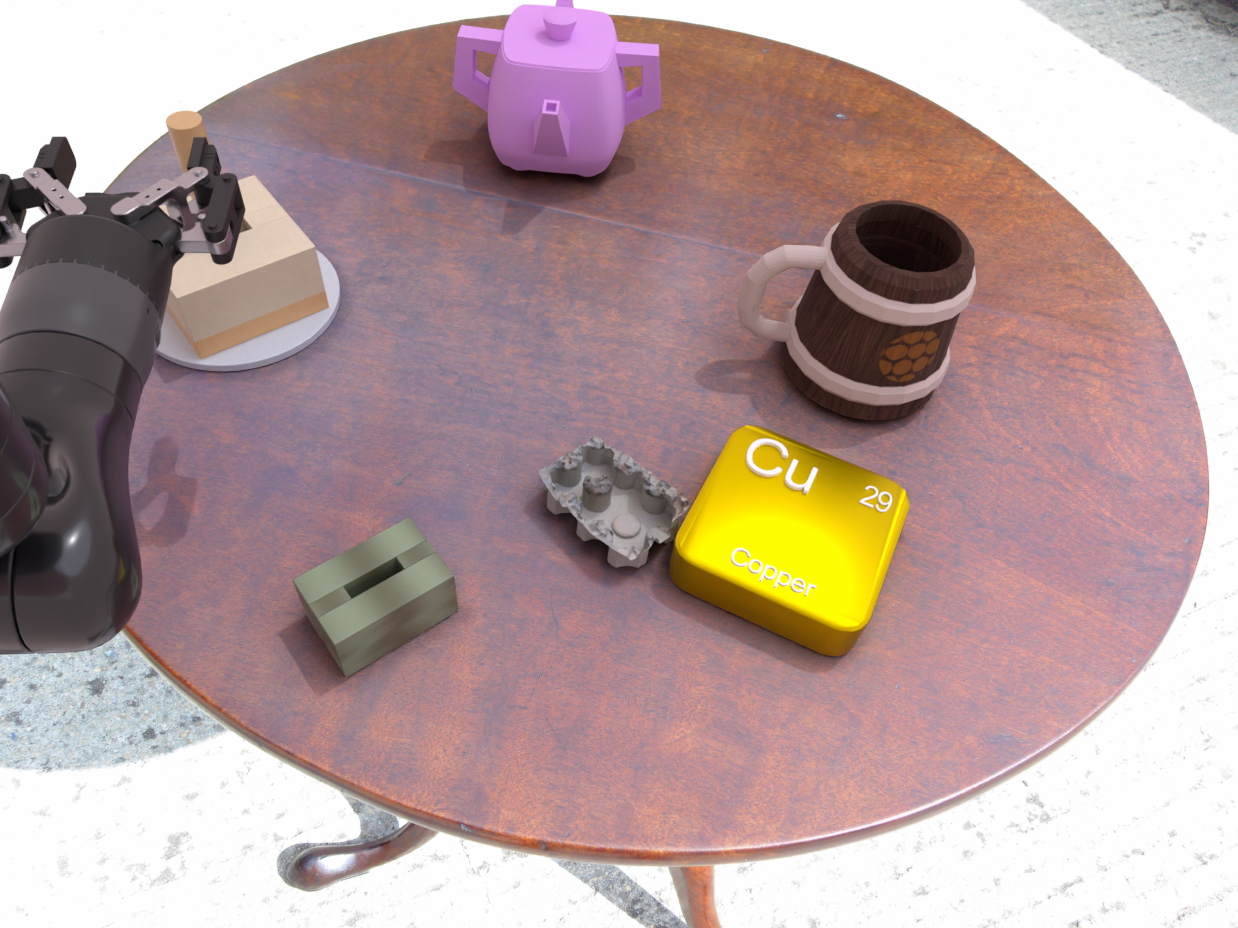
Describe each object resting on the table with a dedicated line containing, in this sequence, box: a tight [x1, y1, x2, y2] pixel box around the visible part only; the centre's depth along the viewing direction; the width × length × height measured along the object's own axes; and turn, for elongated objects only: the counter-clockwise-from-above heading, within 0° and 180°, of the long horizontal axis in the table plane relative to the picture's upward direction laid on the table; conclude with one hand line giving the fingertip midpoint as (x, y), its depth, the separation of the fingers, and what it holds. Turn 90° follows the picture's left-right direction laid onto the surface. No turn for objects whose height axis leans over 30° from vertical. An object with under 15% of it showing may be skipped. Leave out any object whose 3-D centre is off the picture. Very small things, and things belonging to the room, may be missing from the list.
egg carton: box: [538, 435, 691, 569], centre depth 72 cm, size 11×8×4 cm
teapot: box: [451, 0, 662, 178], centre depth 98 cm, size 19×18×15 cm
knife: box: [165, 110, 241, 233], centre depth 76 cm, size 4×3×16 cm
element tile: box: [668, 424, 911, 657], centre depth 71 cm, size 15×15×5 cm
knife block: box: [292, 516, 459, 678], centre depth 64 cm, size 9×6×5 cm, turn 128°
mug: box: [737, 199, 977, 421], centre depth 80 cm, size 20×15×15 cm
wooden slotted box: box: [159, 174, 329, 359], centre depth 81 cm, size 12×12×7 cm
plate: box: [156, 248, 342, 373], centre depth 84 cm, size 18×18×1 cm
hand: (135, 148), depth 60 cm, fingers open, 8 cm apart
